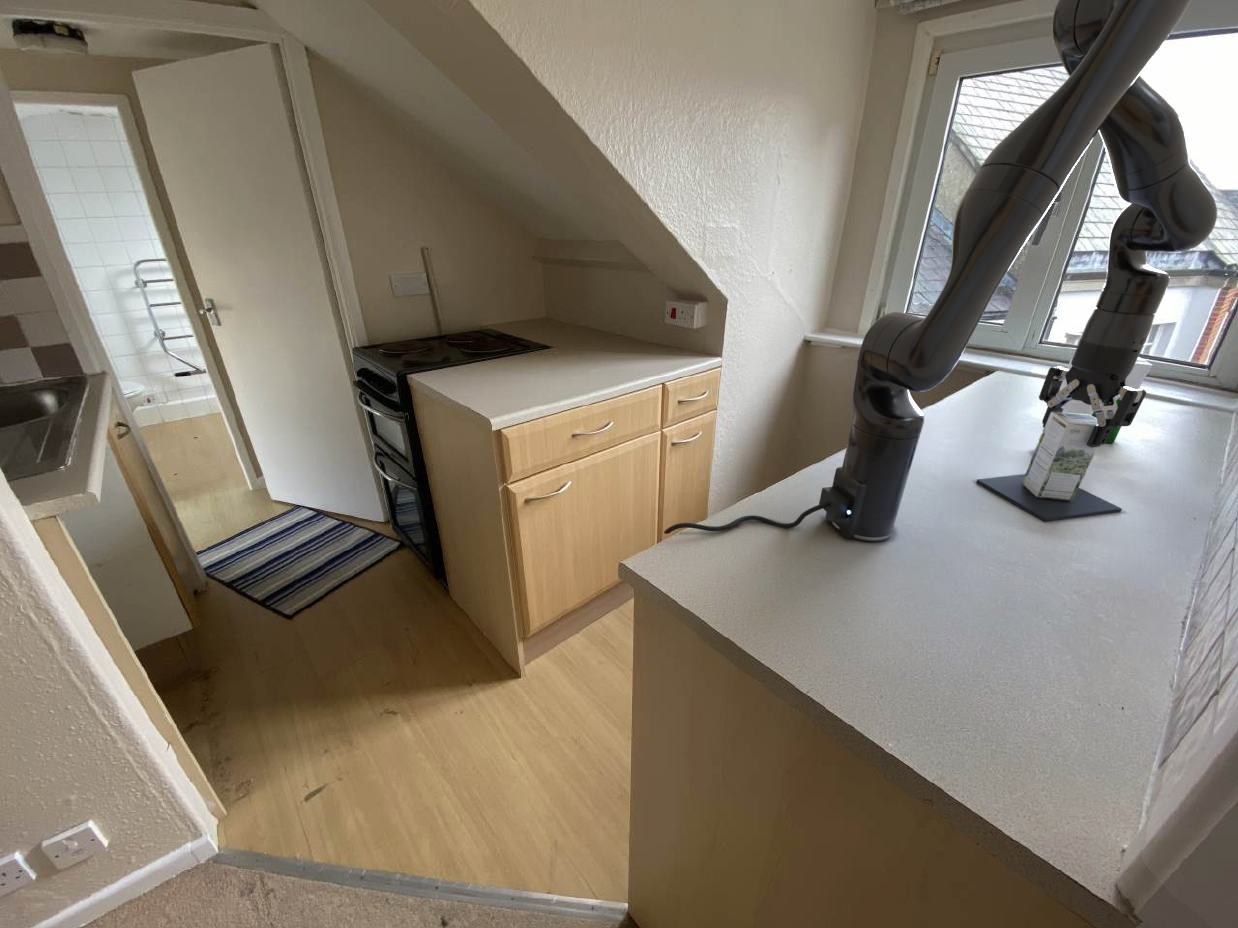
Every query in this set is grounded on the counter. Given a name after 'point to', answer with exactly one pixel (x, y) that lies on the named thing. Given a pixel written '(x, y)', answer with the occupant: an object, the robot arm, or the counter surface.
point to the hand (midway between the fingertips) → (1070, 436)
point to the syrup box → (1061, 456)
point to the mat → (1047, 500)
